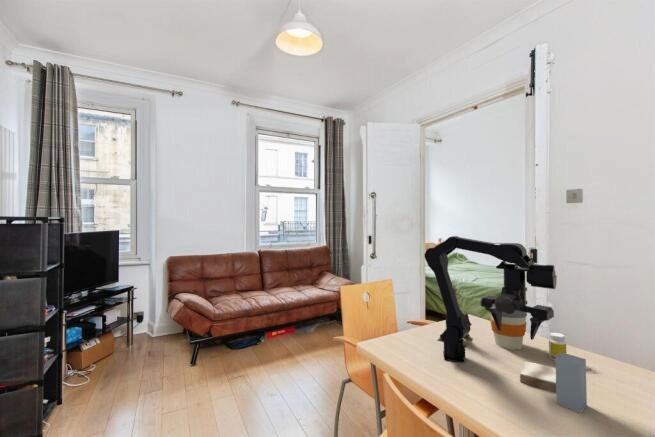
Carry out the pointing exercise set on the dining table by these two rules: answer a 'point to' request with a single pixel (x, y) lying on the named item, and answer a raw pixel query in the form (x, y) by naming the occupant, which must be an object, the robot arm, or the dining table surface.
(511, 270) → the robot arm
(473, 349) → the dining table surface
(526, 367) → the plinth
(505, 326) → the reusable coffee cup
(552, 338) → the supplement bottle
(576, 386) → the slate block
